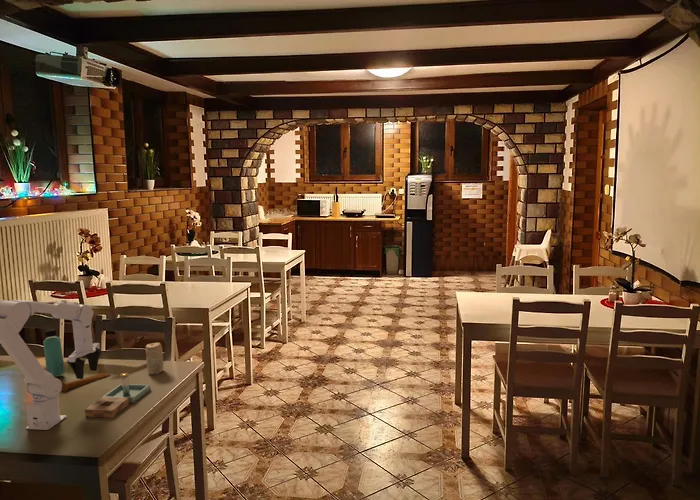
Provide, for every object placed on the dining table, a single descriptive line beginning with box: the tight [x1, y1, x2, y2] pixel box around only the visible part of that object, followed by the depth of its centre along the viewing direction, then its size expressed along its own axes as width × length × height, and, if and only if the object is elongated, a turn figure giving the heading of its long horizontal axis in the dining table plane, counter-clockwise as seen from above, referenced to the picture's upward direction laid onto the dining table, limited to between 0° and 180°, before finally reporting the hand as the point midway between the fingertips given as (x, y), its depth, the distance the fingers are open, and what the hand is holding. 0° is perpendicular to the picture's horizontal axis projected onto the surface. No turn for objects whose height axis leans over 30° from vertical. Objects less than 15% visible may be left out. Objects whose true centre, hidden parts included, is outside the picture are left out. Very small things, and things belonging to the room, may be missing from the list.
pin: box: [119, 372, 130, 396], centre depth 197 cm, size 3×3×8 cm
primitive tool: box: [61, 372, 112, 392], centre depth 211 cm, size 19×6×4 cm, turn 152°
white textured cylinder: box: [145, 342, 164, 376], centre depth 219 cm, size 6×8×12 cm
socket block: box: [84, 396, 130, 419], centre depth 186 cm, size 10×10×2 cm
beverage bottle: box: [42, 328, 66, 377], centre depth 217 cm, size 6×7×20 cm
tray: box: [102, 383, 151, 404], centre depth 197 cm, size 12×12×2 cm
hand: (86, 374), depth 192 cm, fingers open, 7 cm apart
